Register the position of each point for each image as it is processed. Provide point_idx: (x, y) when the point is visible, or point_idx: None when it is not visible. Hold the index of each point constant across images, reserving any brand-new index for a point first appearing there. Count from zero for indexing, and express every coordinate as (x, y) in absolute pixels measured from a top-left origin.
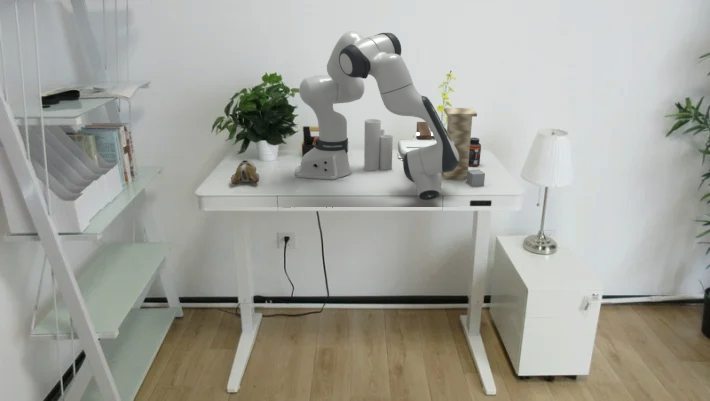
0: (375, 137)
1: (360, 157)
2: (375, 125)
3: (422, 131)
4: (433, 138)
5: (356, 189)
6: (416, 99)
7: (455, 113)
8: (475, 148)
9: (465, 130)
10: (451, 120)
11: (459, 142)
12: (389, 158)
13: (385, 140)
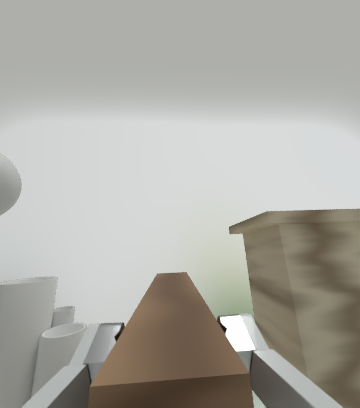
0: (9, 341)
1: None
2: (17, 293)
3: (156, 308)
4: (254, 382)
5: None
6: None
7: (296, 211)
8: None
9: (356, 287)
10: (285, 244)
11: (352, 355)
12: None
13: (47, 350)
